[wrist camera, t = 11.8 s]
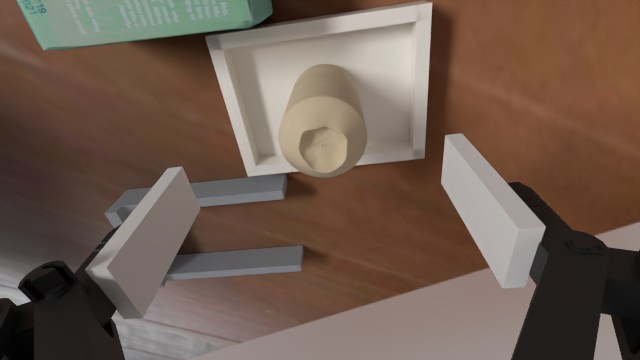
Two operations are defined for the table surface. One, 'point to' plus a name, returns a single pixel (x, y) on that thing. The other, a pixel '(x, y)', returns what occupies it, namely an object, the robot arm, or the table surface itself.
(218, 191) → the bracket
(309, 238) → the table surface
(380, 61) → the tray
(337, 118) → the candle
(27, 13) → the box
